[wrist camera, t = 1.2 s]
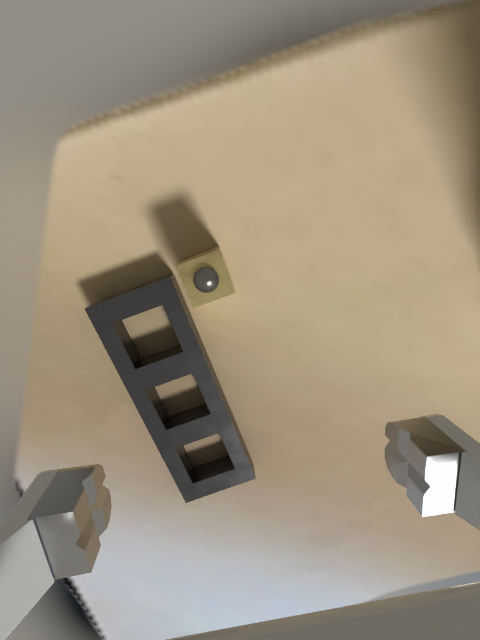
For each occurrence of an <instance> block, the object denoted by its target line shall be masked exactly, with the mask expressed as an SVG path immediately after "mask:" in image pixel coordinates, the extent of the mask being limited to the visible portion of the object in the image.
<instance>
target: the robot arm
mask: <svg viewBox="0 0 480 640" xmlns="http://www.w3.org/2000/svg"><path fill="white" fill-rule="evenodd" d="M385 435H386V436H387V437H388V439H389V440H390V441H389V443H388V444H387V445H386V447H385V460H386V464H387V468H388V470H389V472H390V474H391V476H392V477H393V478H394V480H395V481H396V482H397V483H398V484H400V485H402V486H404V487H406V488H407V494H406V496H407V497H408V498H409V500H410V501H411V502H412V503H413V505H414V506H415V507H416V509H417V510H418V511H419V513H420V514H421V515H422V516H430V515H437V514H444V513H452V512H455V514H456V515H457V516H459V517H460V518H462V519H463V520H465V521H467V522H468V523H470V524H471V525H473V526H474V527H476V528H478V529H479V530H480V443H478V442H477V441H476V440H474V439H473V438H472V437H471V436H469V435H468V434H467V433H465V432H464V431H463V430H461V429H460V428H459V427H457V426H456V425H455V424H453V423H452V422H451V421H450V420H448V419H447V418H446V417H444V416H443V415H440V414H433V415H427V416H422V417H420V418H413V419H406V420H400V421H393V422H388V423H387V425H386V429H385ZM104 479H105V473H104V470H103V467H102V466H101V465H99V464H96V465H88V466H80V467H71V468H63V469H57V470H49V471H43V472H41V473H40V474H38V475H37V476H36V478H35V479H34V481H33V482H32V483H31V485H30V486H29V488H28V489H27V490H26V492H25V493H24V494H23V496H22V497H21V499H20V500H19V501H18V503H17V504H16V506H15V507H14V508H13V510H12V511H11V513H10V514H9V515H8V517H7V518H6V520H5V521H4V522H3V524H0V640H5V639H6V638H7V637H8V635H9V634H10V633H11V632H12V631H13V629H14V628H15V627H16V626H17V625H18V624H19V622H20V621H21V620H22V619H23V618H24V617H25V616H26V614H27V613H28V612H29V611H30V610H31V609H32V607H33V606H34V605H35V604H36V603H37V602H38V600H39V599H40V598H41V597H42V596H43V594H44V593H45V592H46V591H47V590H48V589H49V587H50V586H51V585H52V584H53V583H54V580H55V579H60V578H65V577H70V576H75V575H80V574H85V573H90V572H92V569H93V566H94V563H95V560H96V558H97V555H98V552H99V549H100V546H101V544H100V541H99V536H100V535H101V534H102V533H103V532H104V531H105V530H106V529H107V526H108V523H109V520H110V513H111V496H110V492H109V489H107V488H106V487H105V486H104V485H102V483H103V481H104ZM167 640H480V581H479V582H474V583H468V584H463V585H458V586H452V587H447V588H441V589H437V590H431V591H426V592H421V593H415V594H409V595H404V596H399V597H394V598H388V599H383V600H377V601H372V602H367V603H361V604H356V605H350V606H345V607H340V608H334V609H329V610H324V611H318V612H313V613H307V614H302V615H297V616H291V617H286V618H280V619H275V620H270V621H264V622H259V623H253V624H248V625H243V626H237V627H232V628H226V629H221V630H216V631H210V632H205V633H199V634H194V635H189V636H183V637H178V638H172V639H167Z"/></svg>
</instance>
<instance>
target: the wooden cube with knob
mask: <svg viewBox="0 0 480 640" xmlns="http://www.w3.org/2000/svg"><path fill="white" fill-rule="evenodd" d="M176 267H177V269H178V272H179V274H180V277H181V279H182V281H183V284H184V286H185V289H186V291H187V293H188V296H189V298H190V301H191V303H192V306H193V308H195V307H198V306H200V305H203V304H206V303H209V302H211V301H214V300H217V299H219V298H222V297H225V296H228V295H230V294H233V293H235V290H234V286H233V283H232V280H231V277H230V275H229V272H228V269H227V267H226V264H225V261H224V258H223V256H222V253H221V250H220V247H219V246H218V247H216V248H213V249H210V250H208V251H205V252H202V253H200V254H197V255H194V256H191V257H189V258H186V259H183V260H182V261H181V262H180V263H179V264H177V265H176Z"/></svg>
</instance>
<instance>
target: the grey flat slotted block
mask: <svg viewBox="0 0 480 640" xmlns="http://www.w3.org/2000/svg"><path fill="white" fill-rule="evenodd" d="M161 305H163V307H164V310H165V312H166V314H167V316H168V319H169V321H170V323H171V325H172V328H173V330H174V332H175V334H176V337H177V339H178V341H179V343H180V346H178V347H175V348H172V349H169V350H167V351H164V352H161V353H158V354H156V355H153V356H150V357H147V358H145V359H142V360H141V359H140V357H139V355H138V353H137V351H136V349H135V347H134V345H133V343H132V341H131V339H130V337H129V335H128V333H127V331H126V329H125V327H124V325H123V323H122V321H121V320H123V319H125V318H128V317H131V316H133V315H136V314H139V313H142V312H144V311H147V310H150V309H152V308H155V307H158V306H161ZM85 310H86V312H87V314H88V316H89V318H90V320H91V322H92V324H93V326H94V328H95V329H96V331H97V333H98V335H99V337H100V339H101V341H102V343H103V345H104V347H105V349H106V351H107V352H108V354H109V356H110V358H111V360H112V362H113V364H114V366H115V368H116V370H117V372H118V373H119V375H120V377H121V379H122V381H123V383H124V385H125V387H126V389H127V391H128V393H129V395H130V396H131V398H132V400H133V402H134V404H135V406H136V408H137V410H138V412H139V414H140V416H141V418H142V419H143V421H144V423H145V425H146V427H147V429H148V431H149V433H150V435H151V437H152V439H153V440H154V442H155V444H156V446H157V448H158V450H159V452H160V454H161V456H162V458H163V460H164V462H165V463H166V465H167V467H168V469H169V471H170V473H171V475H172V477H173V479H174V481H175V483H176V484H177V486H178V488H179V490H180V492H181V494H182V496H183V498H184V500H185V502H186V503H187V502H190V501H193V500H195V499H198V498H201V497H204V496H207V495H210V494H213V493H215V492H218V491H221V490H224V489H227V488H230V487H233V486H235V485H238V484H241V483H244V482H247V481H250V480H253V479H255V472H254V465H253V462H252V460H251V457H250V455H249V452H248V450H247V448H246V445H245V443H244V441H243V438H242V436H241V433H240V431H239V429H238V426H237V424H236V421H235V419H234V417H233V414H232V412H231V410H230V407H229V405H228V402H227V400H226V398H225V395H224V393H223V391H222V388H221V386H220V383H219V381H218V379H217V376H216V374H215V371H214V369H213V367H212V364H211V362H210V360H209V357H208V355H207V352H206V350H205V348H204V345H203V343H202V341H201V338H200V336H199V333H198V331H197V329H196V326H195V324H194V321H193V319H192V317H191V314H190V312H189V310H188V307H187V305H186V302H185V300H184V298H183V295H182V293H181V290H180V288H179V286H178V283H177V281H176V279H175V276H174V274H171V275H168V276H166V277H163V278H160V279H158V280H155V281H152V282H149V283H147V284H144V285H141V286H139V287H136V288H133V289H131V290H128V291H125V292H122V293H120V294H117V295H114V296H112V297H109V298H106V299H104V300H101V301H98V302H95V303H93V304H92V305H90V306H88V307H86V308H85ZM191 373H193V375H194V377H195V379H196V382H197V384H198V386H199V388H200V391H201V393H202V395H203V397H204V400H205V402H206V404H205V405H203V406H200V407H197V408H194V409H191V410H189V411H186V412H183V413H180V414H177V415H175V416H172V417H169V416H168V414H167V412H166V410H165V408H164V406H163V404H162V402H161V400H160V398H159V396H158V394H157V392H156V390H155V388H154V387H155V386H158V385H161V384H164V383H167V382H169V381H172V380H175V379H178V378H180V377H183V376H186V375H189V374H191ZM217 433H219V434H220V436H221V438H222V440H223V443H224V445H225V447H226V449H227V452H228V454H229V456H228V457H225V458H222V459H220V460H217V461H214V462H211V463H208V464H205V465H203V466H200V467H197V468H194V467H193V465H192V463H191V461H190V459H189V457H188V455H187V453H186V451H185V449H184V447H183V445H186V444H189V443H191V442H194V441H197V440H200V439H203V438H206V437H208V436H211V435H214V434H217Z"/></svg>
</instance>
